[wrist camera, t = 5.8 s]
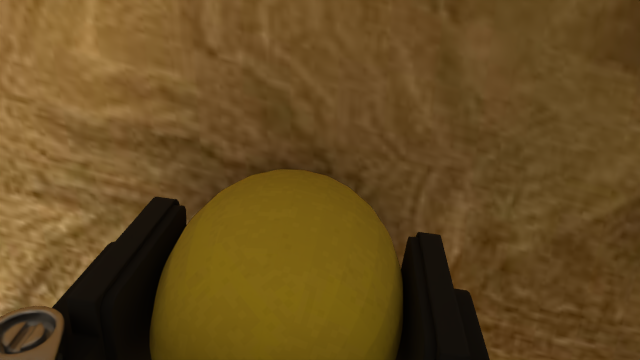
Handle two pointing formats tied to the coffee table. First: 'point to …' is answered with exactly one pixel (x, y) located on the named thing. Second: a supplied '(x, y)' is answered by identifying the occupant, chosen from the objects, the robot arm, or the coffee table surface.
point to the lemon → (280, 276)
